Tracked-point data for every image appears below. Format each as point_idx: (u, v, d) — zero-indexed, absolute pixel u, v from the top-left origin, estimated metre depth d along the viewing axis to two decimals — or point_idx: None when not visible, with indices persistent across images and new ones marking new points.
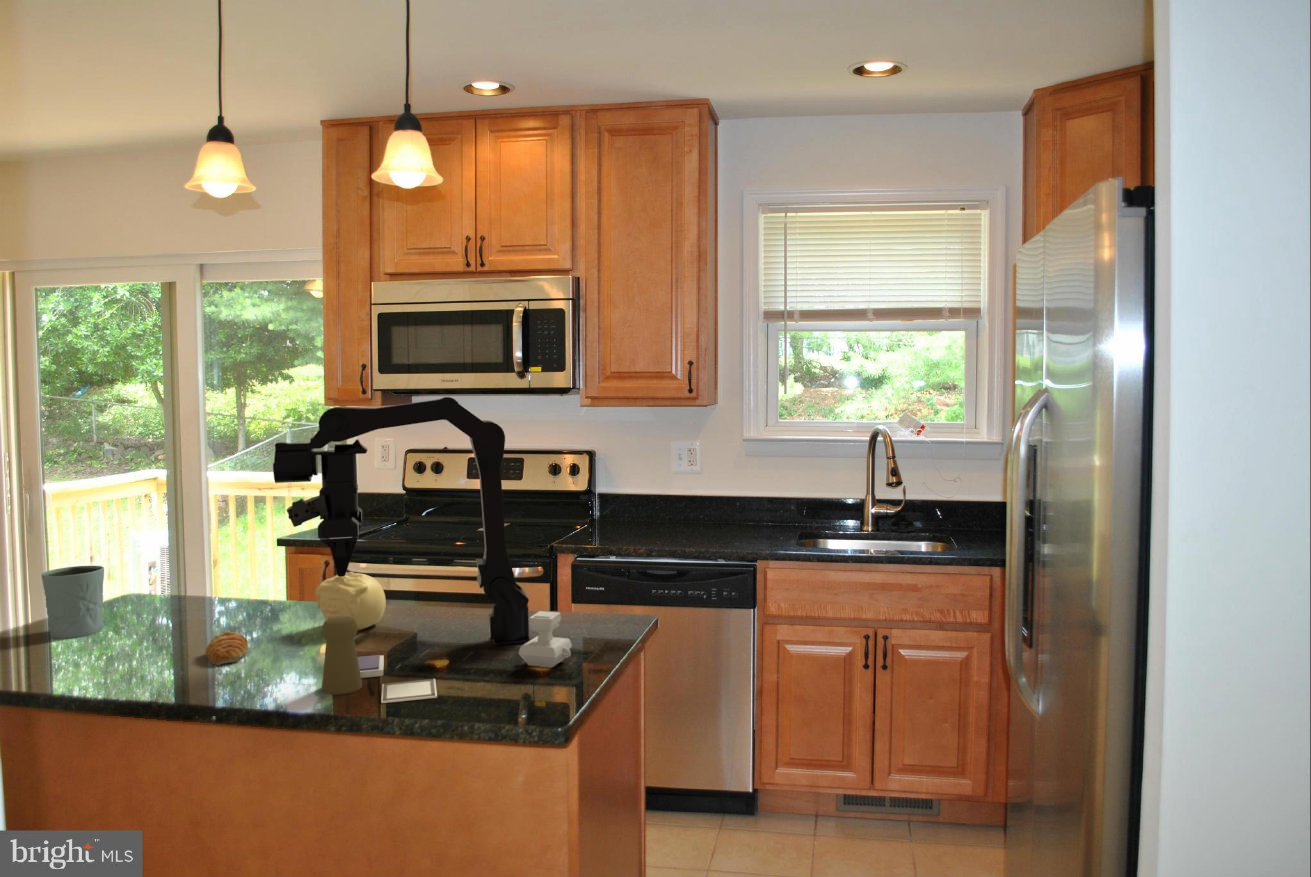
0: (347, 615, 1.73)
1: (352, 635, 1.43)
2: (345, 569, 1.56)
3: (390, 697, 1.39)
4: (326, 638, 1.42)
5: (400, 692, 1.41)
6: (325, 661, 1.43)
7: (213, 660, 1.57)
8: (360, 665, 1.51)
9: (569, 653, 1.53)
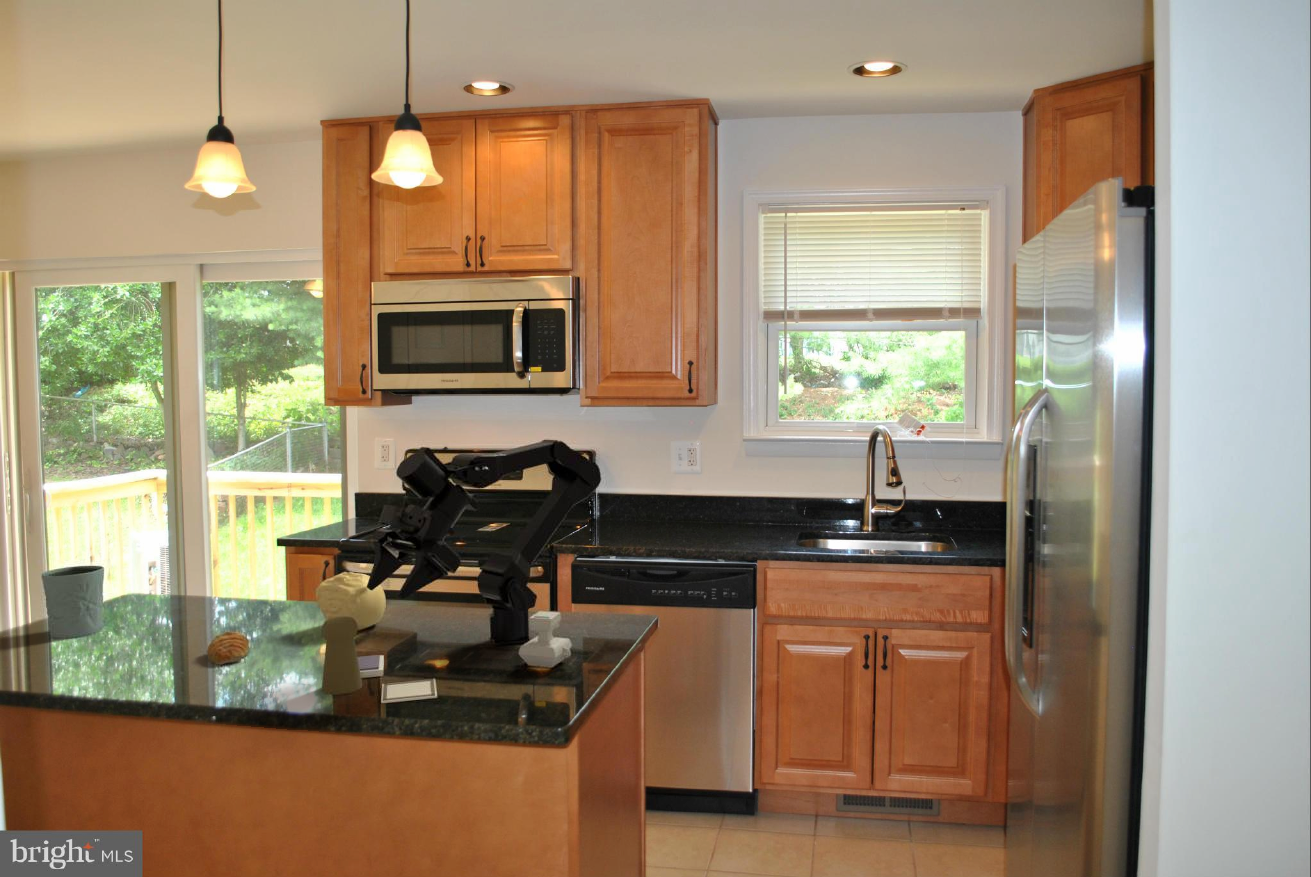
0: (347, 615, 1.73)
1: (352, 635, 1.43)
2: (409, 594, 1.47)
3: (390, 697, 1.39)
4: (326, 638, 1.42)
5: (400, 692, 1.41)
6: (325, 661, 1.43)
7: (215, 660, 1.57)
8: (360, 665, 1.51)
9: (569, 653, 1.53)
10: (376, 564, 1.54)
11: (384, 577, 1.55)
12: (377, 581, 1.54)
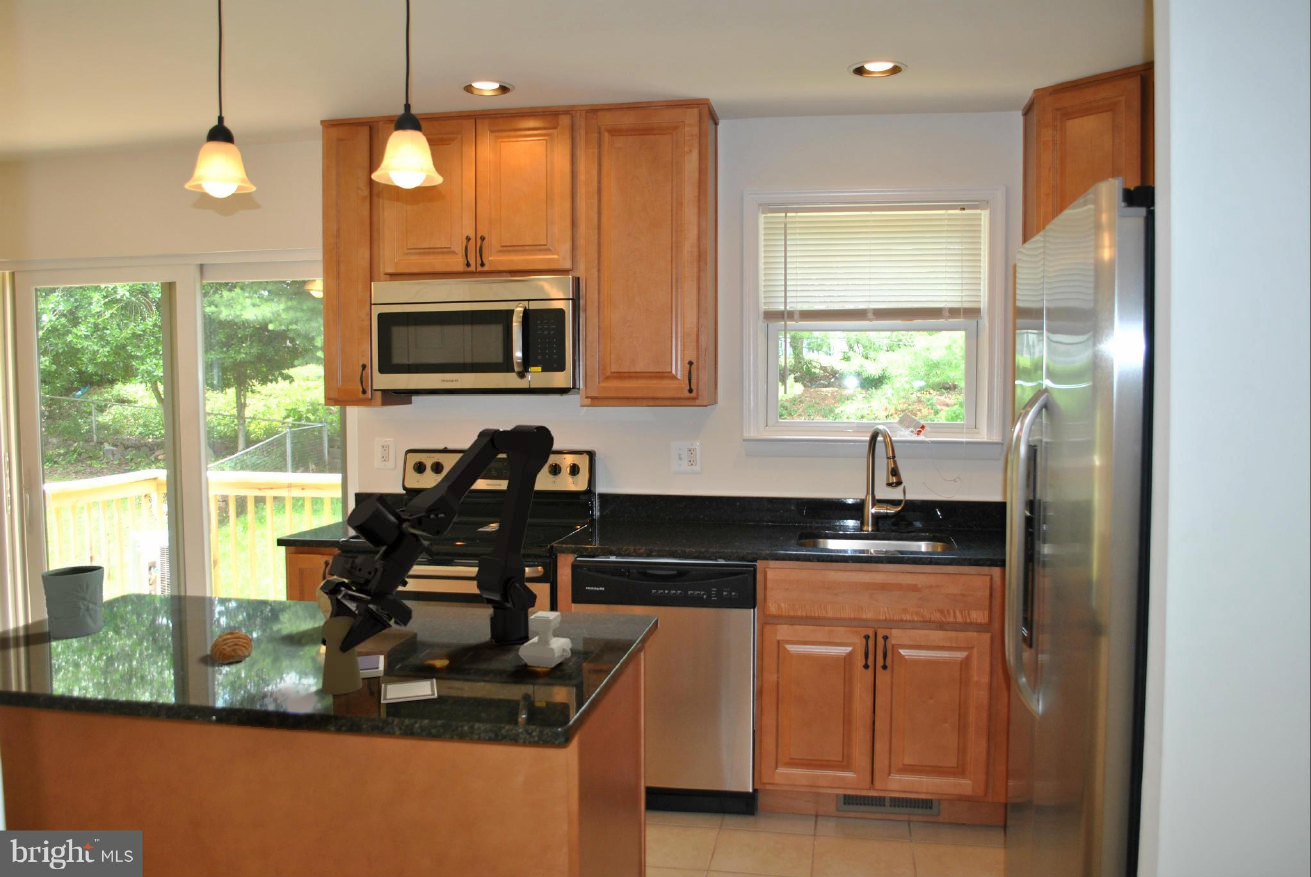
0: None
1: None
2: (351, 647, 1.42)
3: (390, 697, 1.39)
4: (326, 638, 1.42)
5: (400, 692, 1.41)
6: (325, 661, 1.43)
7: (219, 659, 1.58)
8: (360, 665, 1.51)
9: (569, 653, 1.53)
10: None
11: None
12: None
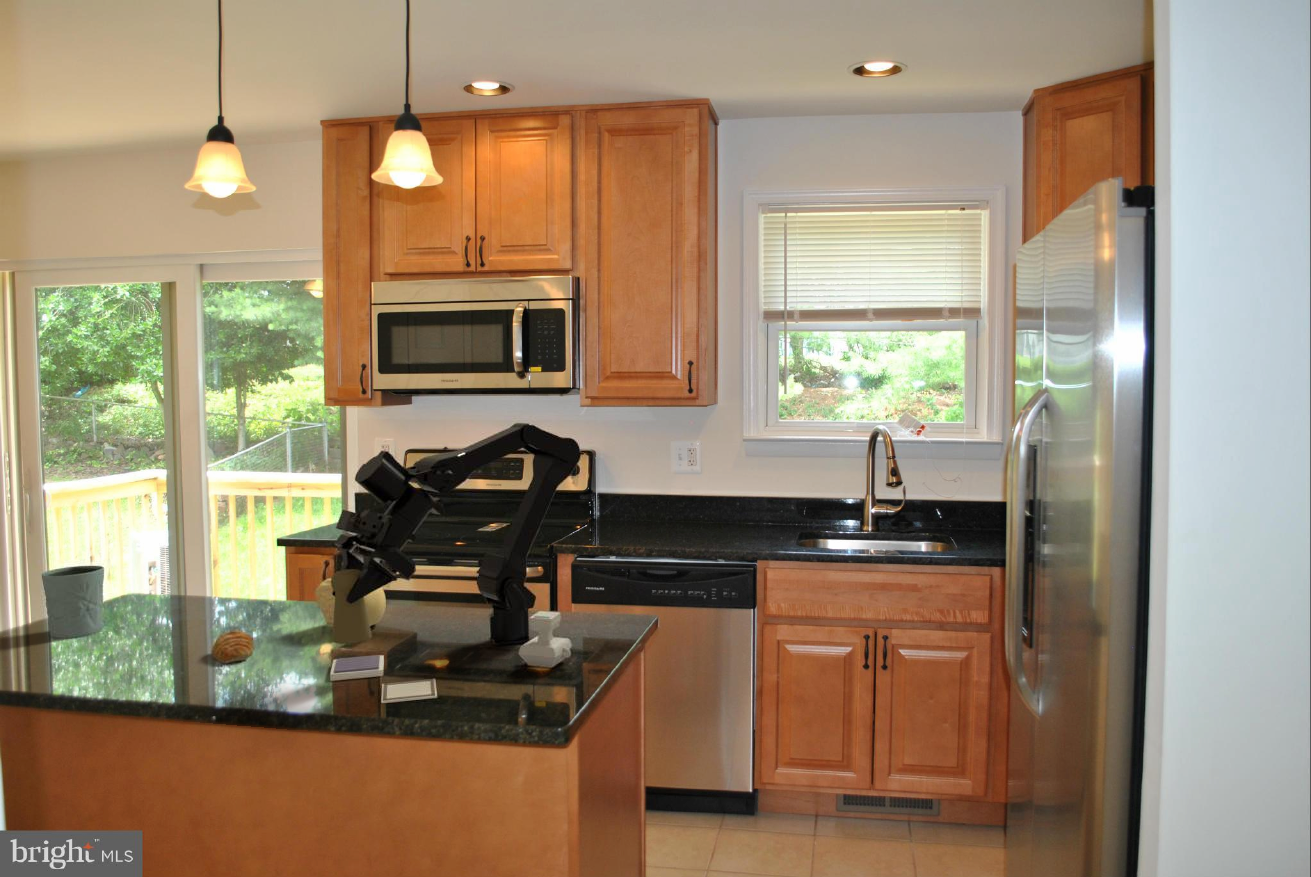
0: None
1: None
2: (357, 598, 1.46)
3: (390, 697, 1.39)
4: (334, 589, 1.47)
5: (400, 692, 1.41)
6: (334, 612, 1.48)
7: (221, 659, 1.58)
8: (360, 665, 1.51)
9: (569, 653, 1.53)
10: None
11: None
12: None
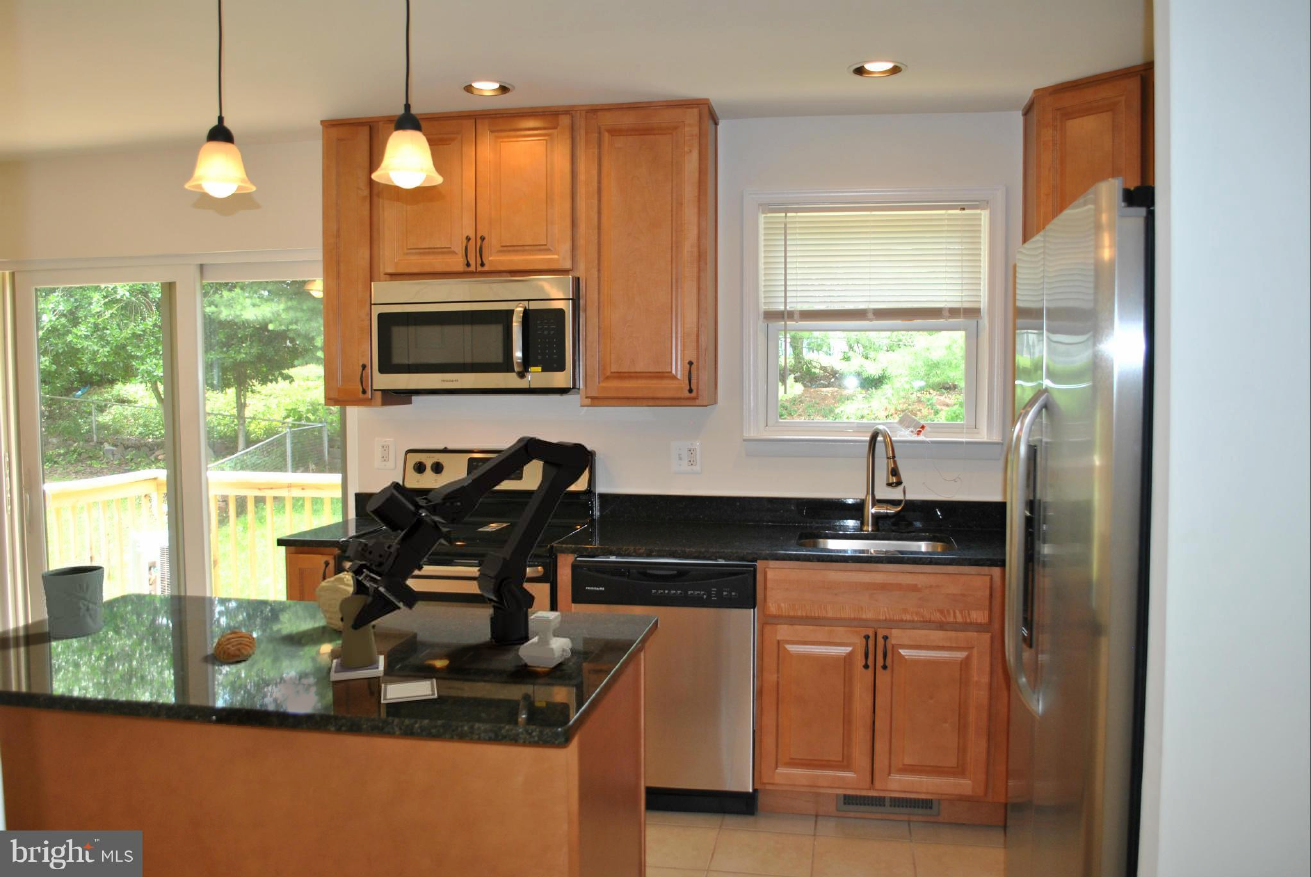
0: None
1: None
2: (362, 625, 1.50)
3: (390, 697, 1.39)
4: (342, 615, 1.51)
5: (400, 692, 1.41)
6: (342, 636, 1.51)
7: (224, 658, 1.58)
8: None
9: (569, 653, 1.53)
10: None
11: None
12: None
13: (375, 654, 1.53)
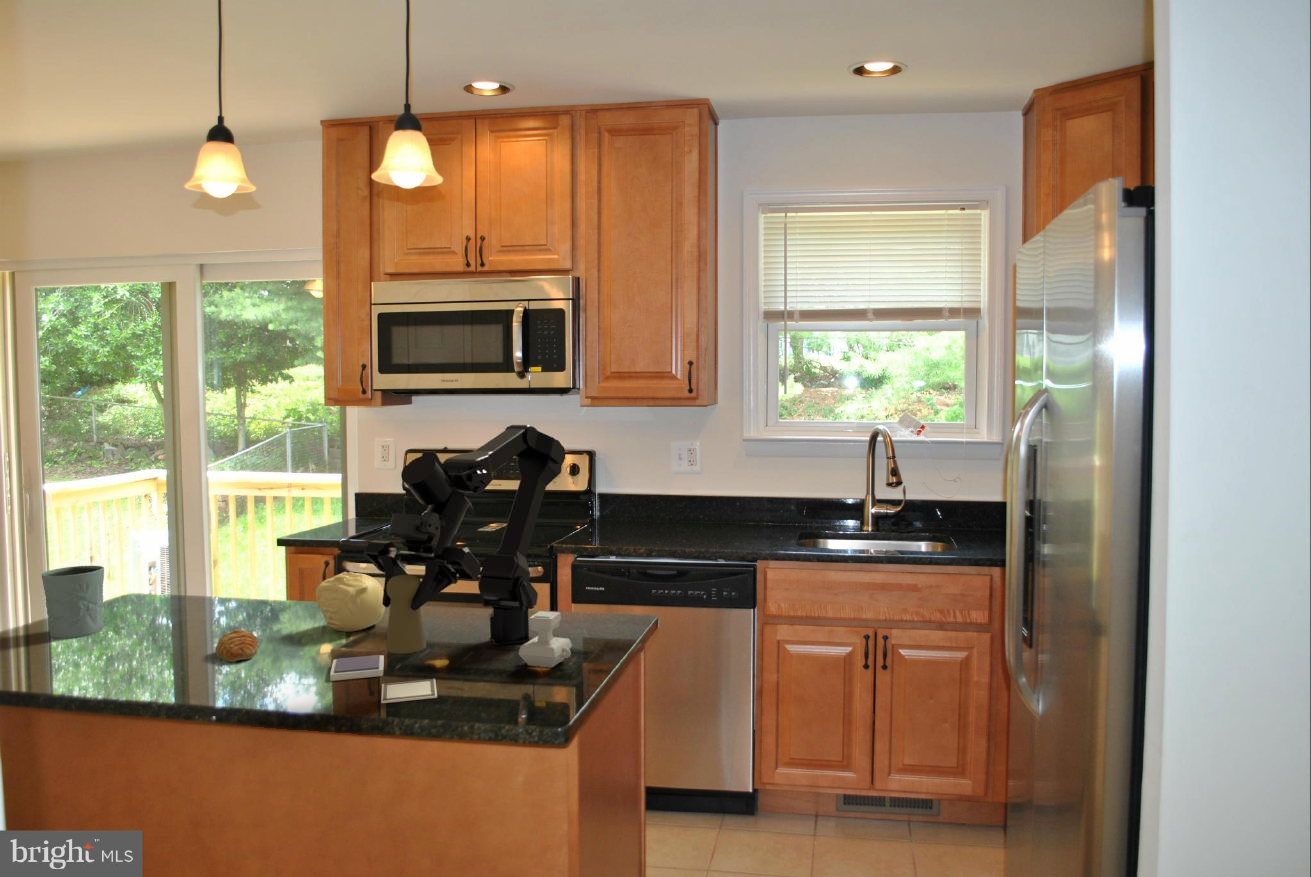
0: (347, 615, 1.73)
1: None
2: (421, 604, 1.40)
3: (390, 697, 1.39)
4: (395, 597, 1.39)
5: (400, 692, 1.41)
6: (392, 620, 1.40)
7: (226, 658, 1.58)
8: (360, 665, 1.51)
9: (569, 653, 1.53)
10: (389, 579, 1.43)
11: None
12: None
13: None
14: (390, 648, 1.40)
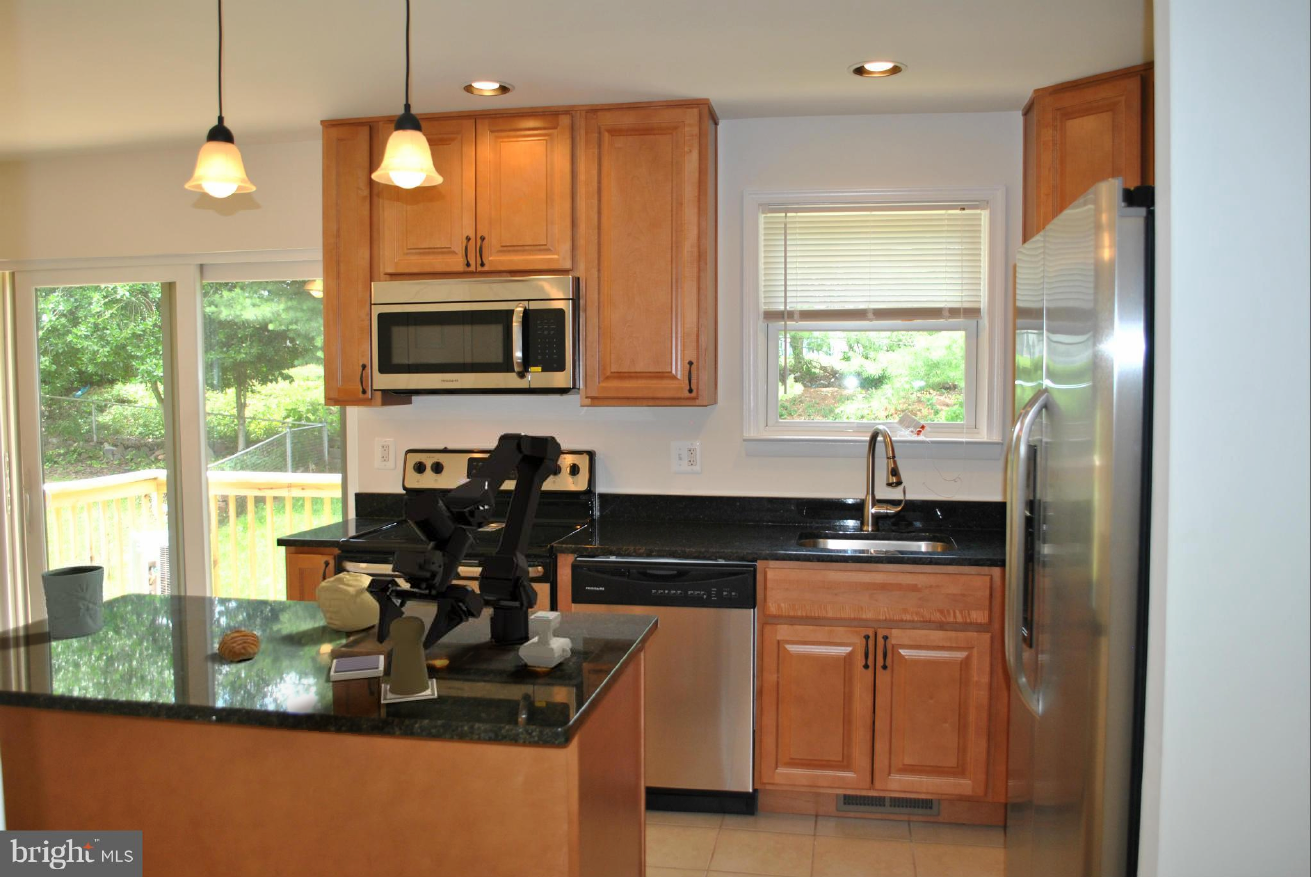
0: (347, 615, 1.73)
1: (423, 634, 1.42)
2: (433, 643, 1.40)
3: (390, 697, 1.39)
4: (399, 639, 1.40)
5: None
6: (396, 663, 1.40)
7: (229, 657, 1.59)
8: (360, 665, 1.51)
9: (569, 653, 1.53)
10: (383, 615, 1.44)
11: None
12: (385, 633, 1.43)
13: None
14: (394, 690, 1.40)
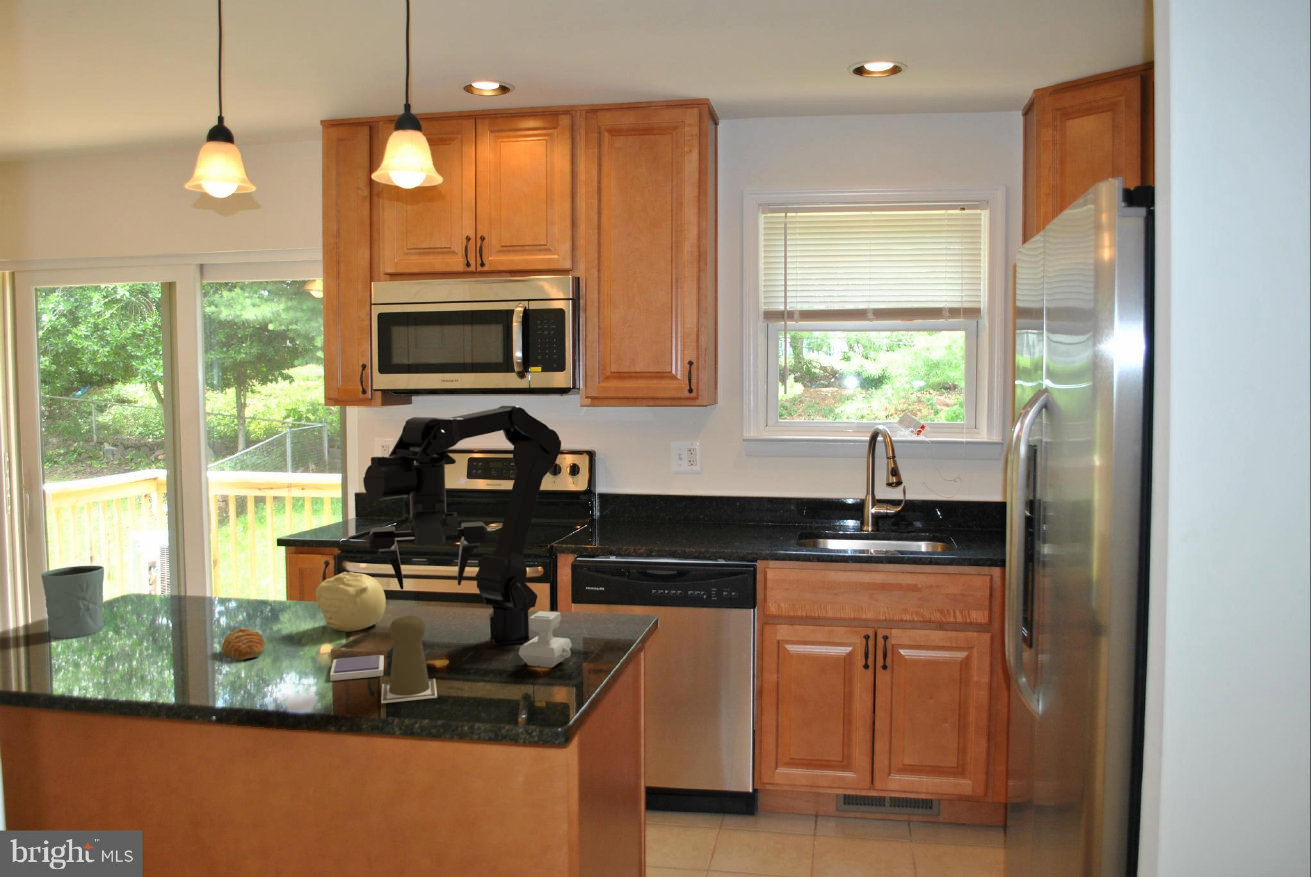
0: (347, 615, 1.73)
1: (423, 634, 1.42)
2: None
3: (390, 697, 1.39)
4: (399, 639, 1.40)
5: None
6: (396, 663, 1.40)
7: (235, 656, 1.59)
8: (360, 665, 1.51)
9: (569, 653, 1.53)
10: (397, 567, 1.52)
11: (401, 569, 1.55)
12: None
13: None
14: (394, 690, 1.40)
